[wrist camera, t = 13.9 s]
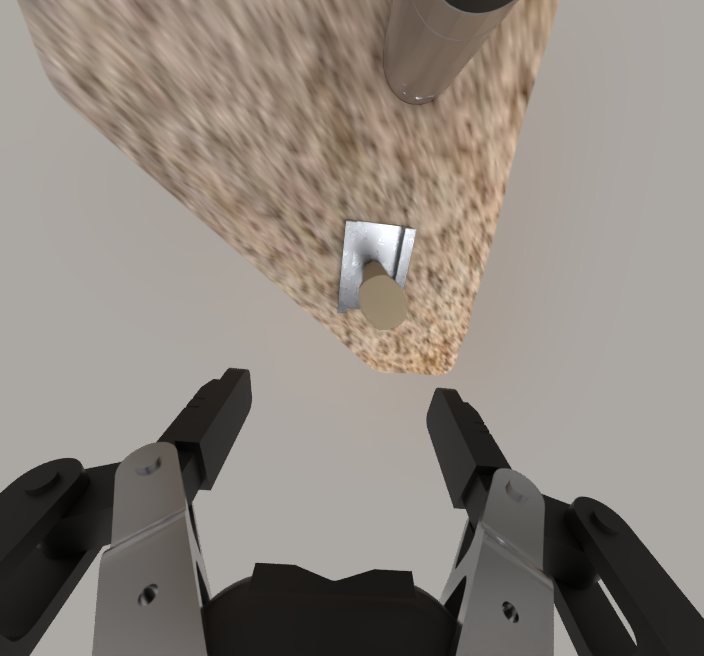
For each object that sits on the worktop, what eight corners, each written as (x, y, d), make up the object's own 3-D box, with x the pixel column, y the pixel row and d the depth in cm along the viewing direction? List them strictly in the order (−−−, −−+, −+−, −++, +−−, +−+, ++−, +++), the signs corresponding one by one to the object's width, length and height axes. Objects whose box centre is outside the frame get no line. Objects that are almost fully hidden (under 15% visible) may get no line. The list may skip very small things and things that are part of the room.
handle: (378, 245, 39) (392, 267, 25) (394, 281, 41) (414, 319, 28) (350, 258, 40) (350, 287, 26) (367, 293, 42) (374, 335, 29)
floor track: (346, 219, 38) (346, 221, 35) (411, 227, 39) (416, 229, 35) (338, 304, 44) (337, 312, 41) (393, 310, 45) (397, 318, 42)
